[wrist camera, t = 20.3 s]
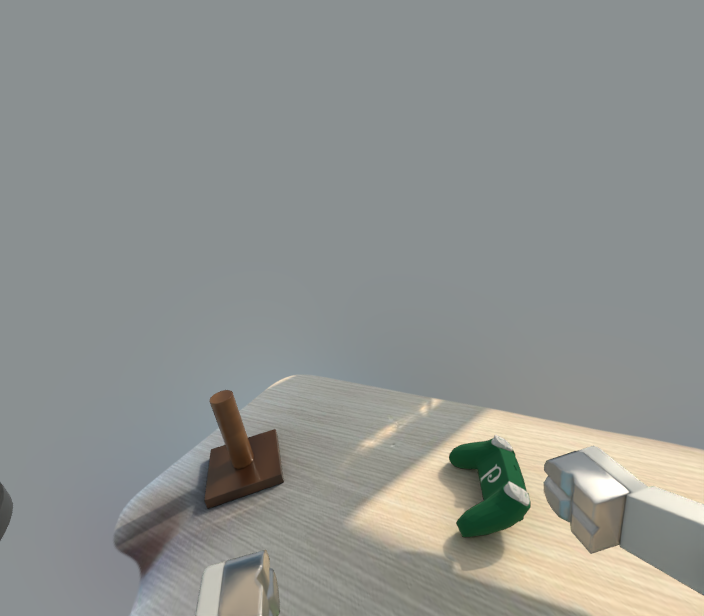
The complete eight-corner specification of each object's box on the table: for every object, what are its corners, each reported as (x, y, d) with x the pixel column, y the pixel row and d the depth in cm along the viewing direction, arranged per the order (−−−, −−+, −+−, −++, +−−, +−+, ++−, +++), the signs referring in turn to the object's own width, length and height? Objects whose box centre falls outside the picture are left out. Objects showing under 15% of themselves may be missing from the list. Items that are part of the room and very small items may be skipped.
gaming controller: (488, 558, 30) (545, 524, 28) (453, 534, 30) (508, 497, 27) (472, 471, 38) (515, 438, 36) (445, 451, 38) (486, 417, 36)
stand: (207, 509, 37) (174, 431, 34) (213, 456, 45) (187, 388, 41) (283, 482, 39) (260, 405, 35) (277, 436, 46) (257, 368, 43)
